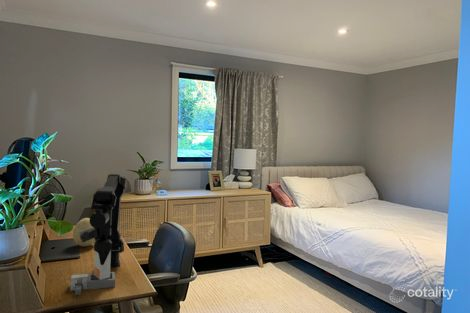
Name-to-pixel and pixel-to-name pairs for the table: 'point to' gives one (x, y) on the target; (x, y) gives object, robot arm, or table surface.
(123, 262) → the table surface
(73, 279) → the pin mount
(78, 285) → the lock pin
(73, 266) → the table surface
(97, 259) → the skincare box
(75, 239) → the fossilized egg
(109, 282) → the socket
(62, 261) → the table surface
